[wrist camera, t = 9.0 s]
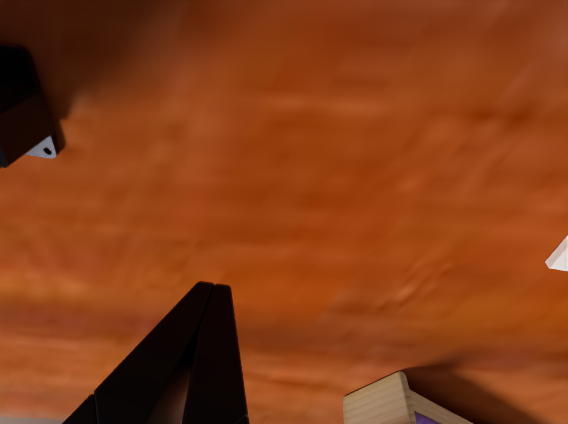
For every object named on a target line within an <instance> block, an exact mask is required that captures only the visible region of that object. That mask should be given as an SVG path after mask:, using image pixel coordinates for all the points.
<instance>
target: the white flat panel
mask: <svg viewBox="0 0 568 424" xmlns="http://www.w3.org/2000/svg"><path fill="white" fill-rule="evenodd" d="M545 262H546V264H547V265H548V267H549V268H551V269H557V270H564V271H568V235H567V236H566V238H565V239H564V240H563V241H562V242H561V244H560V245H559V246H558V247H557V248H556V250H555V251H554V252H553V253H552V254H551V255H550V257H549V258H548V259H547V260H546V261H545Z"/></svg>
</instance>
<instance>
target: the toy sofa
mask: <svg viewBox="0 0 568 424" xmlns="http://www.w3.org/2000/svg"><path fill="white" fill-rule="evenodd" d="M343 412H344V424H473V423H471V422H469V421H468V420H466V419H464V418H462V417H460V416H458V415H456V414H454V413H452V412H450V411H448V410H446V409H445V408H443V407H441V406H439V405H437V404H435V403H433V402H431V401H430V400H428V399H426V398H424V397H422V396H420V395H419V394H417V393H415V392H413V391H411V390H410V389H409V387H408V382H407V378H406V375H405V374H404V373H403V372H401V371H399V372H396V373H394V374H392V375H390V376H387V377H385V378H383V379H381V380H379V381H377V382H375V383H372V384H370V385H368V386H366V387H364V388H362V389H360V390H357V391H355V392H353V393H351V394H349V395H347V396H345V397H344V398H343Z"/></svg>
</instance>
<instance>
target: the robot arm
mask: <svg viewBox="0 0 568 424" xmlns="http://www.w3.org/2000/svg"><path fill="white" fill-rule="evenodd" d="M17 53H18V54H19V55H20V56H21V58H22V60H21V59H20V58H19V57H18V55H17ZM48 148H49V149H50V150H51V151H50V150H49V149H48ZM59 153H60V149H59V146H58V142H57V139H56V136H55V133H54V129H53V126H52V122H51V119H50V116H49V112H48V109H47V106H46V103H45V99H44V96H43V93H42V90H41V87H40V83H39V80H38V77H37V74H36V70H35V67H34V64H33V61H32V57H31V55H30V53H29V52H28V51H27V49H25V48H24V47H22V46H19V45H13V44H7V43H1V42H0V168H6V167H8V166H10V165H11V164H12V163H14V162H15V161H17V160H18V159H19V158H21V157H22V156H23V155H32V156H38V157H45V158H54V157H56V156H57V155H58V154H59ZM182 418H183V419H182ZM181 421H182V424H249V418H248V410H247V403H246V395H245V388H244V380H243V373H242V366H241V358H240V351H239V344H238V336H237V329H236V321H235V314H234V307H233V299H232V292H231V287H230V286H229V285H224V284H215V285H214V283H211V282H204V281H199V282H198V283H196V284H195V285H194V287H193V288H192V289H191V290H190V291H189V292H188V293H187V294H186V295H185V296H184V297H183V298H182V299H181V300H180V301H179V302H178V303H177V304H176V305H175V306H174V308H173V309H172V310H171V311H170V312H169V313H168V314H167V315H166V316H165V317H164V318H163V319H162V320H161V321H160V322H159V323H158V324H157V325H156V326H155V327H154V328H153V330H152V331H151V332H150V333H149V334H148V335H147V336H146V337H145V338H144V339H143V340H142V341H141V342H140V343H139V344H138V345H137V346H136V347H135V348H134V349H133V351H132V352H131V353H130V354H129V355H128V356H127V357H126V358H125V359H124V360H123V361H122V362H121V363H120V364H119V365H118V366H117V367H116V368H115V369H114V370H113V372H112V373H111V374H110V375H109V376H108V377H107V378H106V379H105V380H104V381H103V382H102V383H101V384H100V385H99V386H98V387H97V388H96V389H95V390H94V394H91V395H89V397H88V398H87V399H86V400H85V401H84V402H83V403H82V404H81V405H80V406H79V407H78V408H77V409H76V410H75V411H74V412H73V413H72V414H71V415H70V416H69V417H68V418H67V419H66V420H65V421H64V422H63V423H62V424H181Z"/></svg>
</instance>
